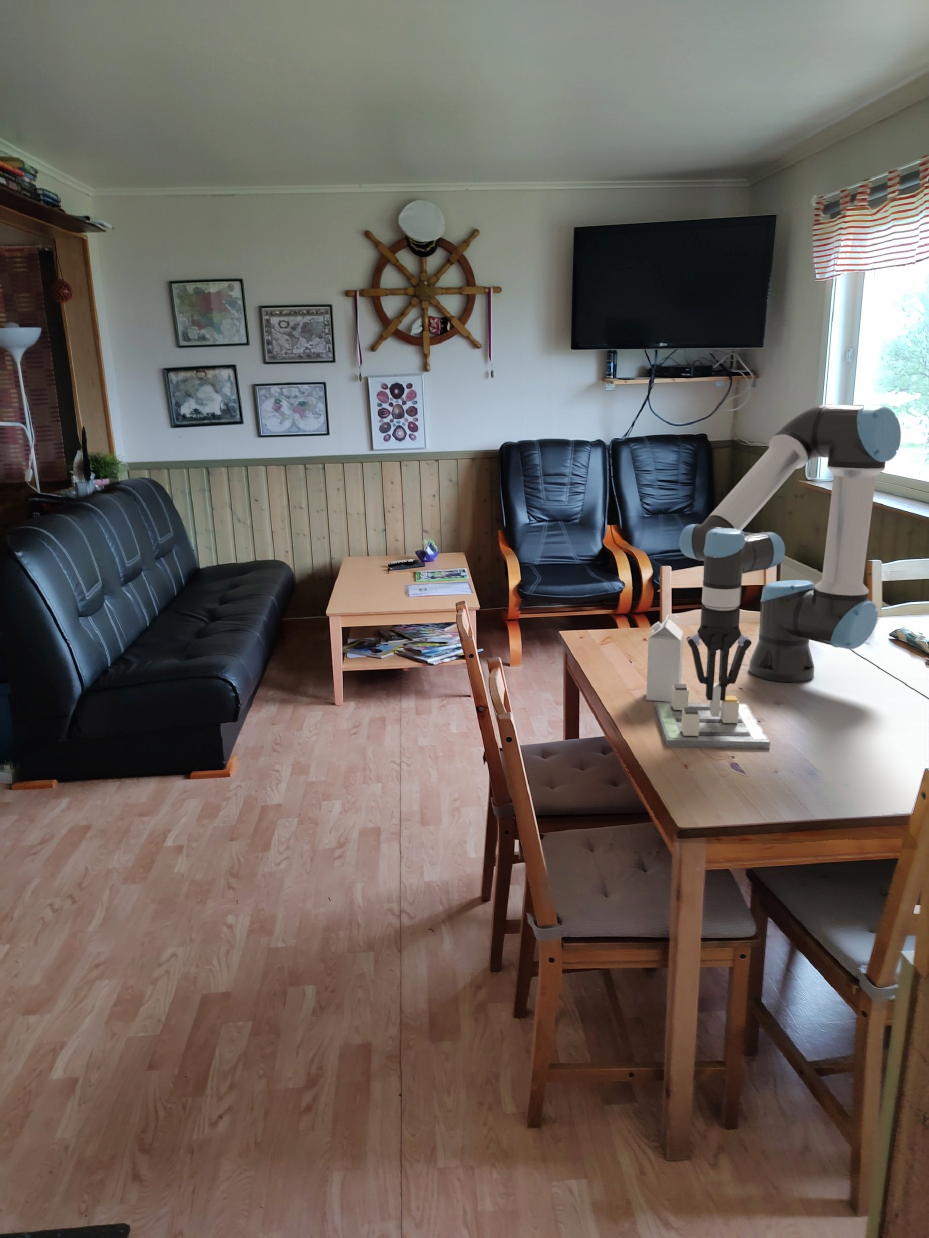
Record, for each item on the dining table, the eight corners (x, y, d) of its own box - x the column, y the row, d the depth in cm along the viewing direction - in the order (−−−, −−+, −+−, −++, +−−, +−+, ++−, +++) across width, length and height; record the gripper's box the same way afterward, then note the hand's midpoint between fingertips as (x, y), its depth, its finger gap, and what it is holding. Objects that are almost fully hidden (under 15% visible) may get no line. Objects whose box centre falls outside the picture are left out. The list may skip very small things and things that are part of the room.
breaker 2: (696, 729, 175) (697, 707, 173) (698, 735, 172) (699, 712, 170) (681, 729, 175) (682, 706, 174) (683, 735, 172) (684, 712, 171)
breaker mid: (734, 717, 181) (736, 695, 179) (737, 723, 178) (739, 700, 176) (720, 717, 181) (721, 695, 180) (723, 722, 178) (724, 700, 177)
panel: (745, 709, 189) (746, 702, 189) (769, 748, 169) (770, 741, 169) (654, 708, 191) (654, 701, 191) (666, 746, 171) (667, 739, 171)
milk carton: (680, 693, 200) (684, 615, 195) (677, 703, 194) (681, 623, 189) (649, 690, 202) (652, 613, 197) (646, 700, 196) (648, 621, 191)
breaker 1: (685, 704, 188) (686, 683, 187) (687, 709, 185) (688, 688, 184) (671, 704, 188) (672, 683, 187) (673, 709, 186) (674, 688, 184)
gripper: (749, 601, 176) (742, 708, 182) (685, 600, 177) (680, 707, 184) (758, 610, 169) (750, 721, 175) (690, 610, 170) (685, 720, 176)
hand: (714, 714), depth 179 cm, fingers closed
